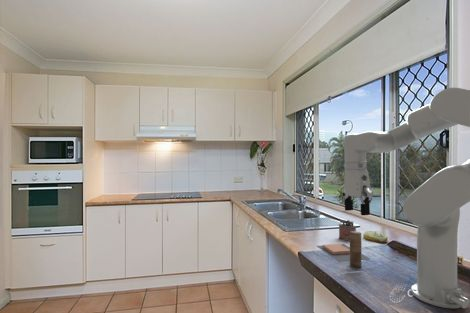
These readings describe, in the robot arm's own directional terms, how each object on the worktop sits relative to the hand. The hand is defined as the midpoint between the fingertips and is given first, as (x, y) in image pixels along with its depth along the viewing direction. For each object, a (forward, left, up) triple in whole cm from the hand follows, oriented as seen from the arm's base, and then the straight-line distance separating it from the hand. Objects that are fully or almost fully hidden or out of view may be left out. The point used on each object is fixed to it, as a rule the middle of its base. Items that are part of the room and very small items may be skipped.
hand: (356, 212), depth 101 cm
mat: (+15, -3, -21) cm, 25 cm away
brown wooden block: (0, 0, -21) cm, 21 cm away
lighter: (+31, -16, -21) cm, 40 cm away
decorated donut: (+29, -30, -21) cm, 46 cm away
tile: (+17, -6, -19) cm, 26 cm away
